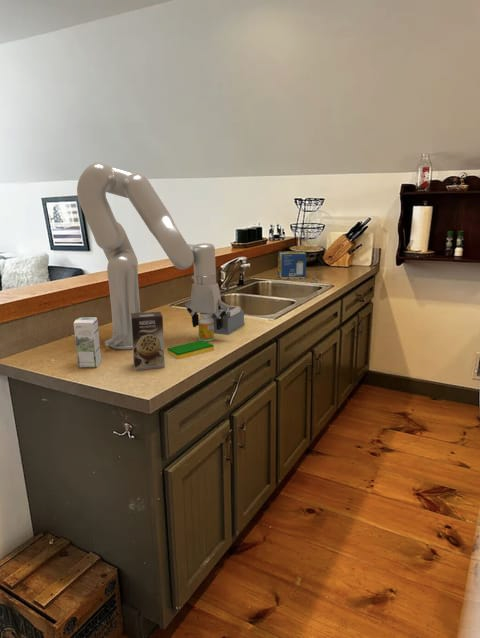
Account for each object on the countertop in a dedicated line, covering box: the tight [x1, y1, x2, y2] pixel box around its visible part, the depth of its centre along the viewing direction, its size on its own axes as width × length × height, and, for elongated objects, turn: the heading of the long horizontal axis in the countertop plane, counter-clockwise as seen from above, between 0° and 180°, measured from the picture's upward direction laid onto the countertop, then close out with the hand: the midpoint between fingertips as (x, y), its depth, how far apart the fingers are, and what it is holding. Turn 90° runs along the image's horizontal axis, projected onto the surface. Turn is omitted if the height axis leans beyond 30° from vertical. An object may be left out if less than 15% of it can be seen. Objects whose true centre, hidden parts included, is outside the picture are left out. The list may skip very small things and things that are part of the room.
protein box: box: [277, 250, 307, 278], centre depth 282 cm, size 10×15×16 cm
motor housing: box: [211, 305, 245, 335], centre depth 180 cm, size 17×9×8 cm, turn 155°
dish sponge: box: [167, 340, 215, 360], centre depth 154 cm, size 7×14×2 cm, turn 128°
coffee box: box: [131, 311, 166, 371], centre depth 140 cm, size 9×6×16 cm
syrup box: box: [73, 317, 102, 369], centre depth 141 cm, size 6×6×14 cm
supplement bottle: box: [198, 313, 215, 342], centre depth 165 cm, size 5×5×10 cm
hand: (207, 327), depth 166 cm, fingers open, 9 cm apart
